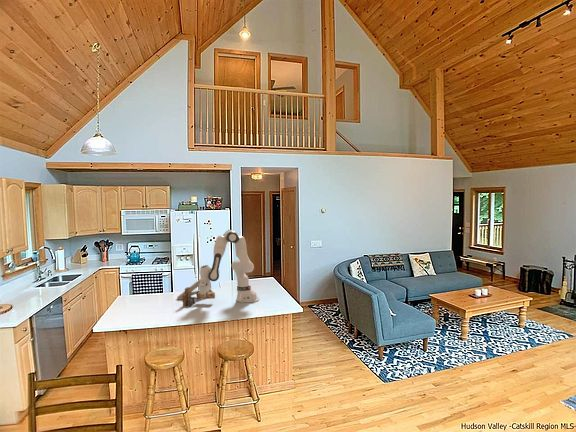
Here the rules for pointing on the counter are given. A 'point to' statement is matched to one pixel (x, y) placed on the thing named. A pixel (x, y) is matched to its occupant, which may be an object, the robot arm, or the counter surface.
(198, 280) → the wall bracket
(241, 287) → the robot arm
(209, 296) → the rail
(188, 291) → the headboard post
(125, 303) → the counter surface
